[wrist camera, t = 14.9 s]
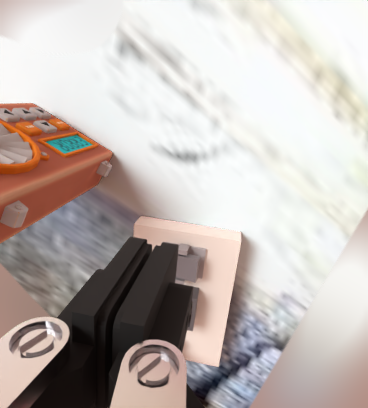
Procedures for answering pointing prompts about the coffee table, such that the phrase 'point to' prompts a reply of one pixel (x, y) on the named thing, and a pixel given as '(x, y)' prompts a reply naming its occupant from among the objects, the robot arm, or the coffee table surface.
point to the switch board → (201, 279)
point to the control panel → (42, 165)
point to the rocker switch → (188, 267)
